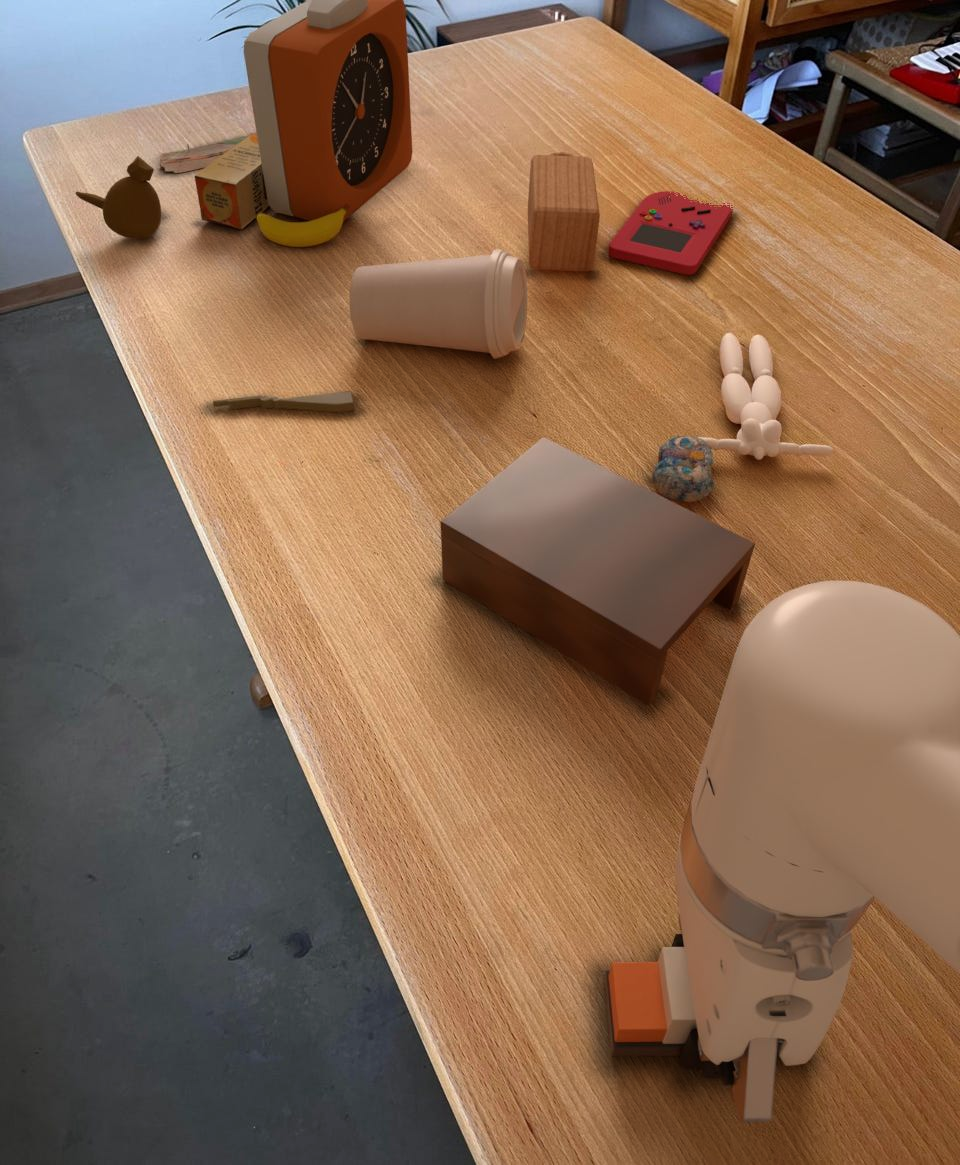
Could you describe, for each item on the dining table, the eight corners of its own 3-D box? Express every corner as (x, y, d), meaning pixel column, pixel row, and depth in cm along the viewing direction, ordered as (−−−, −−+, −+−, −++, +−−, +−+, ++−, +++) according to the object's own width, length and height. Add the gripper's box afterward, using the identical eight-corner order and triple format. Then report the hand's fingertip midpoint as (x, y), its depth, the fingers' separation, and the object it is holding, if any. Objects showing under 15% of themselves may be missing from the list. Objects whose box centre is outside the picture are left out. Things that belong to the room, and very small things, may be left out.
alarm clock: (335, 233, 108) (311, 26, 93) (267, 215, 111) (233, 12, 96) (415, 163, 119) (406, -31, 104) (352, 149, 122) (334, -42, 107)
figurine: (181, 230, 108) (156, 216, 112) (158, 154, 103) (133, 142, 107) (113, 254, 105) (91, 239, 109) (86, 177, 100) (63, 164, 103)
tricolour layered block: (788, 976, 54) (809, 941, 51) (805, 1054, 51) (828, 1022, 48) (603, 978, 54) (612, 943, 51) (611, 1056, 51) (620, 1025, 48)
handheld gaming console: (735, 201, 111) (695, 264, 101) (733, 213, 112) (693, 277, 102) (653, 184, 113) (606, 244, 104) (651, 196, 114) (605, 256, 105)
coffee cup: (348, 365, 91) (509, 369, 88) (338, 256, 87) (507, 255, 84) (381, 344, 99) (529, 346, 96) (374, 243, 95) (528, 242, 92)
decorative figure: (804, 348, 94) (831, 476, 82) (675, 340, 95) (682, 466, 83) (814, 316, 91) (842, 444, 79) (681, 308, 92) (689, 434, 80)
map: (327, 140, 125) (327, 133, 124) (169, 176, 118) (167, 168, 117) (310, 122, 128) (310, 115, 127) (154, 156, 120) (152, 149, 119)
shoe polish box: (257, 175, 117) (202, 219, 109) (251, 133, 114) (194, 175, 106) (294, 184, 116) (241, 229, 108) (290, 141, 113) (235, 184, 105)
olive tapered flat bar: (355, 398, 89) (354, 389, 88) (354, 412, 87) (353, 403, 87) (215, 402, 88) (213, 393, 88) (212, 416, 87) (210, 407, 86)
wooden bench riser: (738, 601, 72) (755, 543, 68) (648, 706, 66) (660, 649, 62) (539, 495, 80) (543, 436, 76) (442, 579, 74) (439, 521, 69)
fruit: (349, 249, 106) (352, 211, 108) (344, 236, 104) (348, 197, 106) (255, 252, 107) (260, 214, 109) (249, 239, 105) (254, 200, 107)
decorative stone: (716, 504, 77) (660, 473, 76) (688, 525, 81) (635, 496, 80) (736, 440, 80) (683, 409, 79) (709, 464, 84) (658, 435, 83)
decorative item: (533, 209, 98) (530, 126, 111) (528, 271, 102) (526, 184, 116) (600, 212, 98) (589, 128, 111) (593, 274, 102) (583, 186, 116)
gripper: (945, 1074, 33) (811, 1197, 47) (823, 674, 45) (743, 866, 58) (721, 1077, 33) (651, 1199, 47) (655, 676, 45) (614, 867, 58)
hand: (703, 1013), depth 52 cm, fingers closed on tricolour layered block, 4 cm apart
